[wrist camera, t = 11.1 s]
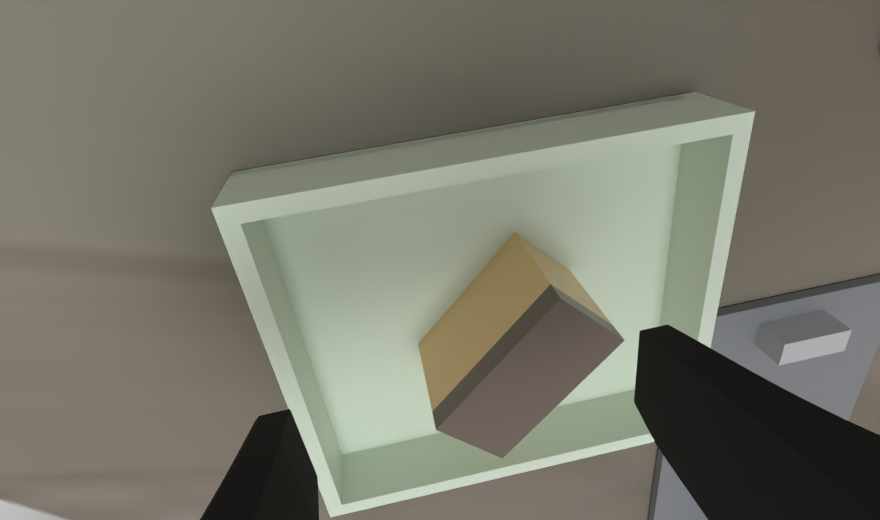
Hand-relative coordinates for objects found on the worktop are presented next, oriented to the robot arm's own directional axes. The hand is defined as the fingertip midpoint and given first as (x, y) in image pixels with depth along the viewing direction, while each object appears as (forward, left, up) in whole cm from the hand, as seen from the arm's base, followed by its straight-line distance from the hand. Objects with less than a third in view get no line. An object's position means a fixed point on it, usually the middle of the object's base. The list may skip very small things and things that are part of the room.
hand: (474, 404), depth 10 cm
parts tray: (-2, +4, -9) cm, 10 cm away
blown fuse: (-2, +4, -9) cm, 10 cm away
